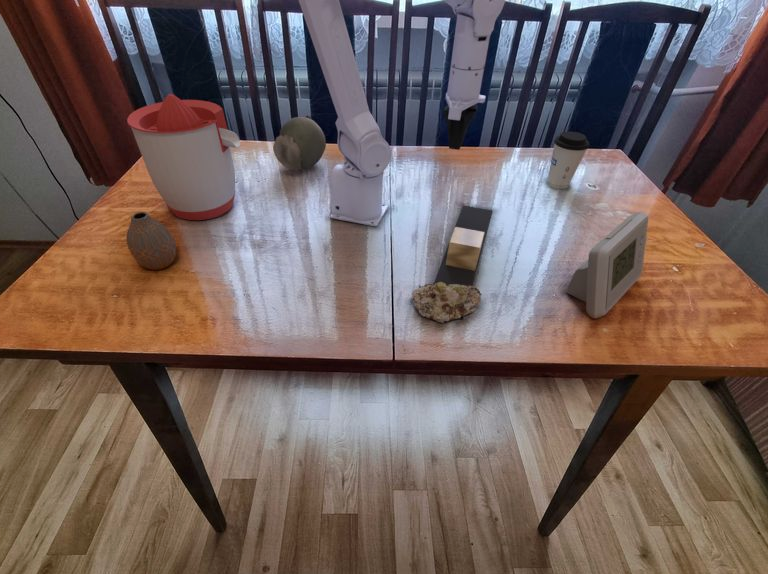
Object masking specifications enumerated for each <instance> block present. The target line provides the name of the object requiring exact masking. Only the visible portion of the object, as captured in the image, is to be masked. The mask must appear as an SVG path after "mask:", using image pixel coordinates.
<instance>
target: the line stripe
mask: <svg viewBox="0 0 768 574" xmlns="http://www.w3.org/2000/svg"><path fill="white" fill-rule="evenodd" d="M493 211H494V210H493V209H486V208H480V207H474V206H468V205H464V204H463V205H462V207H461V210H460V212H459V215H458V218H457V221H456V223H455V226H454V228H453V230H454V229H455V227H459V228H465V229H470V230H476V231H481V232H485V233H484V237H483V241H482V246H481V250H480V254H479V258H478V261H477V265H476V269H475V271H473V270H468V269H463V268H458V267H453V266H449V265H446V260H447V254H448V248H449V243H448V244H447V247H446V249H445V252H444V255H443V257H442V260H441V263H440V266H439V268H438V271H437V274H436V277H435V279H434V282H433V284H432V285H435V284H436V283H438V282H443V283H445V284H446V286H449V285H451V284H458V285H465V286H470V285H471V286H472V287H473V285H474V280H475V278H476V274H477V270H478V267H479V263H480V259H481V255H482V252H483V248H484V244H485V240H486V237H487V233H488V230H489V226H490V223H491V218H492V215H493ZM451 237H452V235H451V236H450V239H449V241H450V240H451ZM464 317H465V316H462V317H460V318H458V319H457V320H460V321H464Z"/></svg>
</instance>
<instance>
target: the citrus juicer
mask: <svg viewBox="0 0 768 574" xmlns="http://www.w3.org/2000/svg"><path fill="white" fill-rule="evenodd" d="M126 119H127V124H128V126H129V127H130V128H131V131H132V133H133V136H134V139H135V142H136V144H137V147H138V149H139V153H140V154H141V157H142V160H143V162H144V165H145V167H146V170H147V172H148V175H149V177H150V179H151V182H152V184H153V185H154V188H155V189H156V190H157V192H158V194H159V196H160V197H161V198H162V200H163V201H164V203H165V205H166V206H167V207H168V208H169V209H170V211H171V212H172V213H173V215H175V216H177V217H178V218H180V219H184V220H188V221H205V220H211V219H214V218H219V217H221V216H222V215H223V214H226V213H227V212H229V211H230V210H231V209H232V207H233V206H234V203H235V197H236V170H235V162H234V158H233V154H232V149H233V148H234V149H239V148H240V146H241V139H240V138H239V136H238V134H237V133H236V132H234V131H232V130H229V129H228V126H227V121H226V117H225V113H224V109H223V108H222V107H221V105H219V104H217V103H214V102H212V101H205V100H202V99H201V100H200V99H181V98H179V97H177V96H176V95H175V94H172V93H168V94H167V95H166V97H165V98H164V100H163V101H160V102H155V103H152V104H148V105H145V106H142V107H140V108H137V109H136V110H134V111H133V112H131V113H129V115H128V117H127V118H126Z"/></svg>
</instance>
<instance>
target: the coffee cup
mask: <svg viewBox="0 0 768 574" xmlns="http://www.w3.org/2000/svg"><path fill="white" fill-rule="evenodd" d="M553 143H554V144H553V149H552V154H551V155H552V156H551V158H550V159H551V160H550V163H549V169H548V174H547V179H546V184H547V185H548V186H549V187H551V188H554V189H560V190H561V189H567V188H568V187H569V185H570V183H571V181H572V180H573V177H574V175H575V174H576V172H577V170H578V167H579V166H580V164H581V162H582V160H583V158H584V156H585V154H586V152H587V150H588V149H589V148H590V142H589V140H588V139H587V136H586V135H585V134H584V133H582V132H577V131H562V132H560V135H557V136H556V138H555V139H554V140H553Z"/></svg>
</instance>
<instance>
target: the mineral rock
mask: <svg viewBox="0 0 768 574" xmlns="http://www.w3.org/2000/svg"><path fill="white" fill-rule="evenodd" d="M411 296H412V304H413V306H414V307H415V308H416V309H417V311H418V314H419V315H421V316H422V317H425V318H426V319H431V320H434V321H436V322H437V323H445V322H449V321H451V320H459V319H458V318H460V317H462V316H464V317H465V316H467V315H468V314H472V313H474V312H475V311H476V308H477V307H478V306H480V304H481V301H482V293H481V292H480V289H479V288H478V287H476V286H473V285H472V286H471V285H470V286H465V285H458V284H451V285H449V286H446V284H445V283H443V282H438V283H436V284H435V285H433V284H432V283H427V284H425V285H422V286H420V287H419V288H418V289H415V290H413V291H412V292H411Z"/></svg>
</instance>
